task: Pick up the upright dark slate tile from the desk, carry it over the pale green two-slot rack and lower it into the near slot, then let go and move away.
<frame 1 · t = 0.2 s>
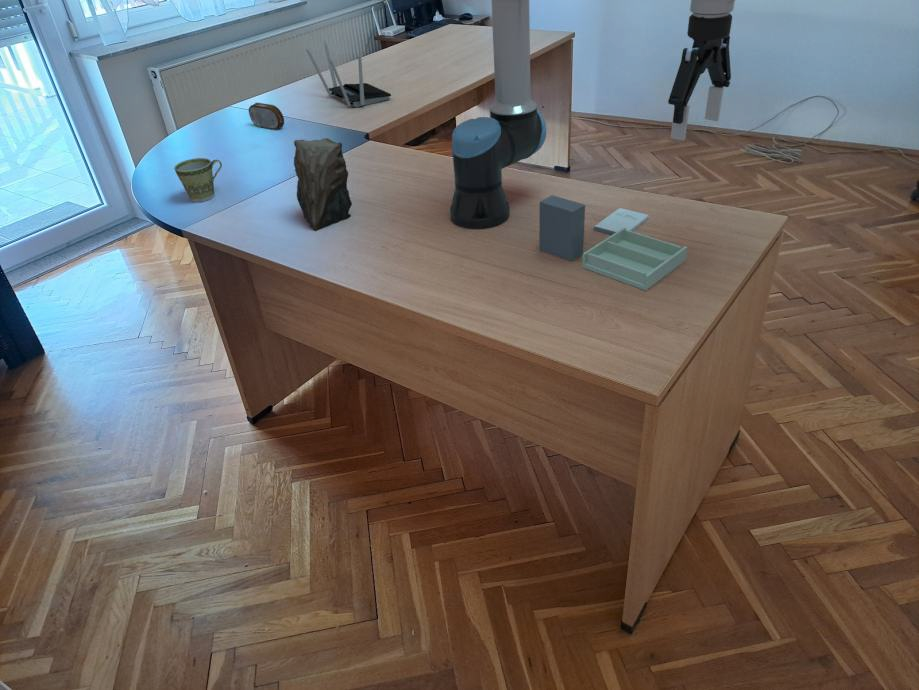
hand: (695, 129, 137), 28 cm above the table, tool pointing down, fingers open, 13 cm apart
tin: (268, 128, 247), on the table
wireless router: (353, 100, 268), on the table
ceramic cup: (207, 196, 198), on the table
tile: (560, 252, 157), on the table
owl: (323, 220, 180), on the table
rack: (633, 264, 150), on the table
external hard drive: (621, 226, 167), on the table
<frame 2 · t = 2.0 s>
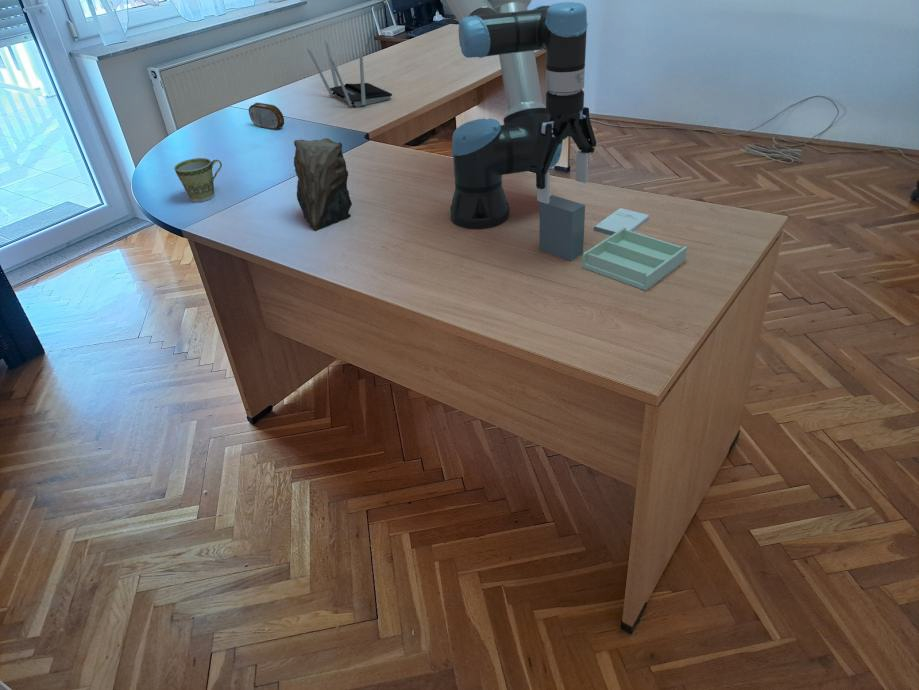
hand: (562, 191, 148), 15 cm above the table, tool pointing down, fingers open, 13 cm apart
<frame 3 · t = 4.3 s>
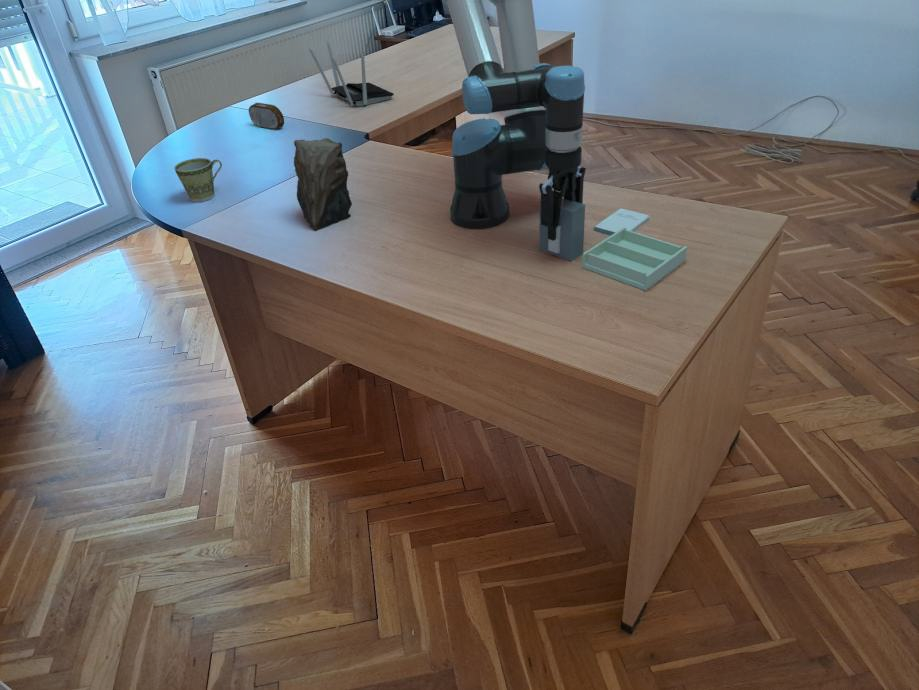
hand: (561, 246, 156), 1 cm above the table, tool pointing down, fingers closed on tile, 4 cm apart
tile: (561, 251, 157), on the table, touching gripper
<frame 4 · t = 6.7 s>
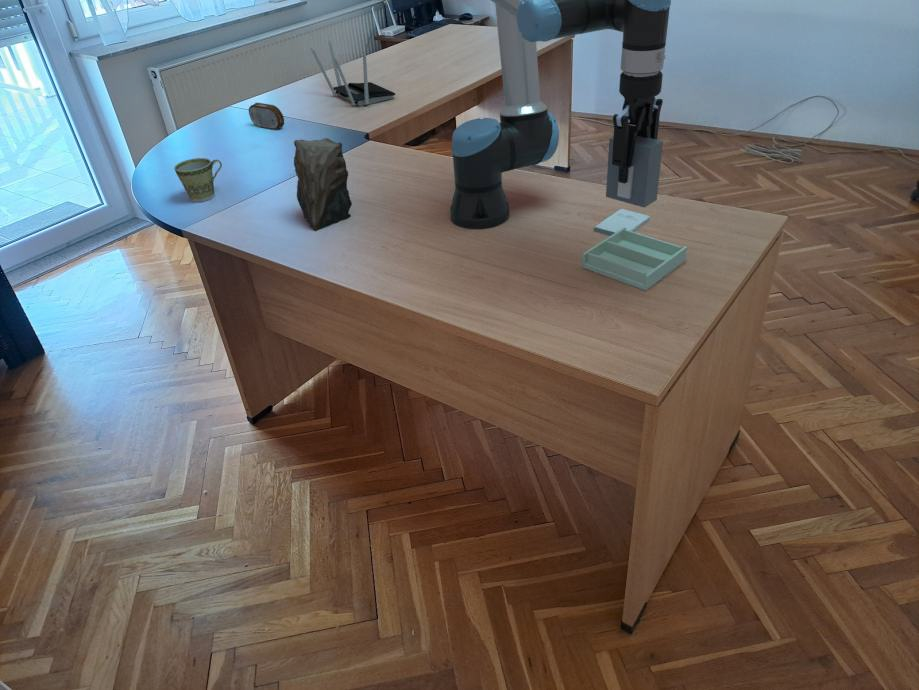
hand: (631, 192, 138), 18 cm above the table, tool pointing down, fingers closed on tile, 4 cm apart
tile: (631, 198, 138), point 17 cm above the table, touching gripper
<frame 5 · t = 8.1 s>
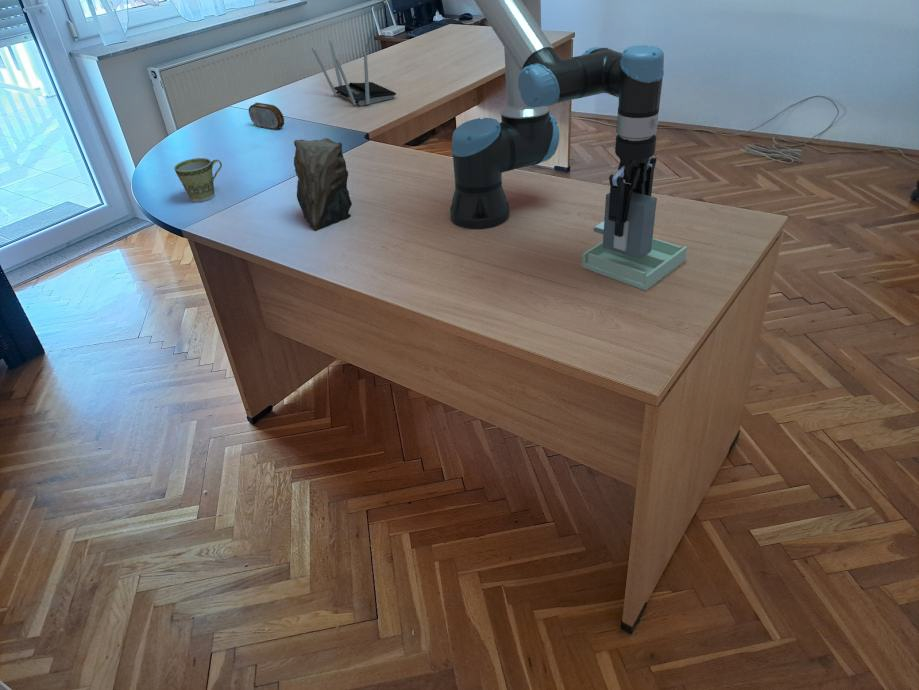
hand: (626, 243, 144), 6 cm above the table, tool pointing down, fingers closed on tile, 4 cm apart
tile: (626, 249, 145), point 5 cm above the table, touching gripper
when the fingers open (4 cm above the table, at t = 9.2 s): tile drops 2 cm, resting on rack.
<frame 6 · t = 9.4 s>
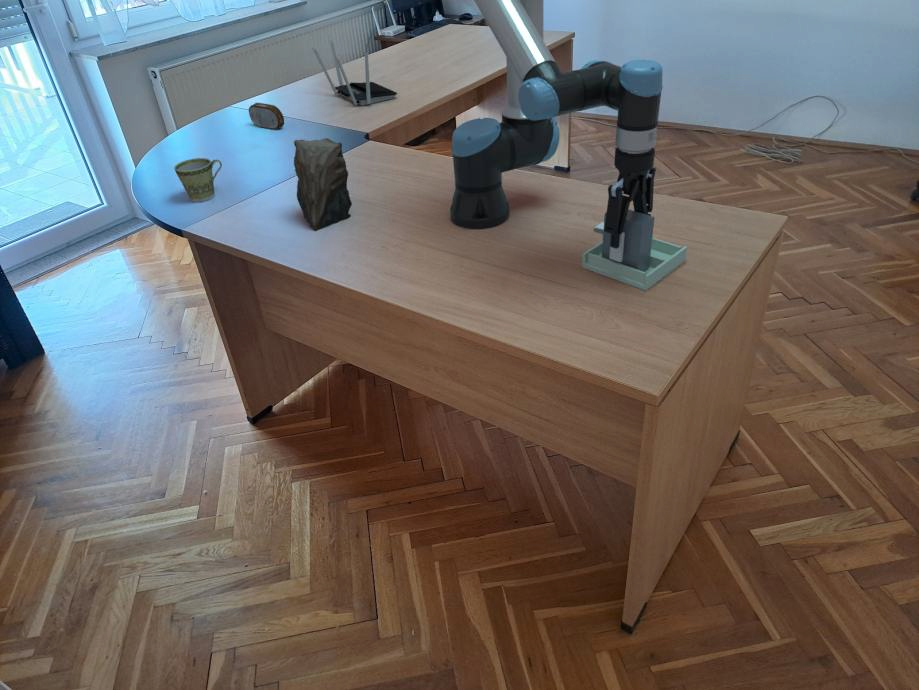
hand: (626, 252, 146), 4 cm above the table, tool pointing down, fingers open, 7 cm apart
tile: (624, 266, 148), point 1 cm above the table, touching rack
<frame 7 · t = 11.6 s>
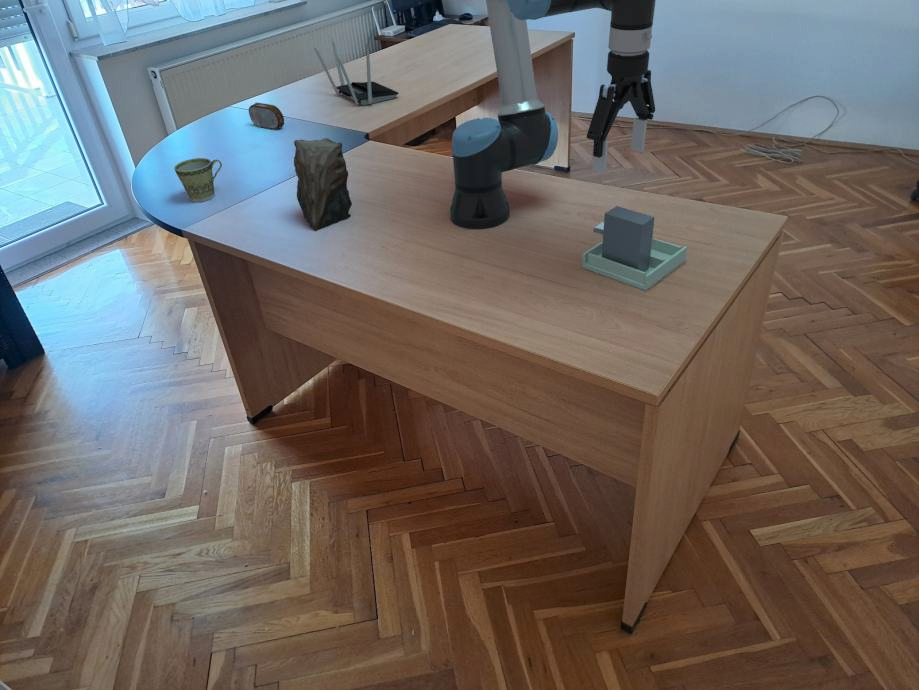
hand: (618, 160, 139), 23 cm above the table, tool pointing down, fingers open, 13 cm apart
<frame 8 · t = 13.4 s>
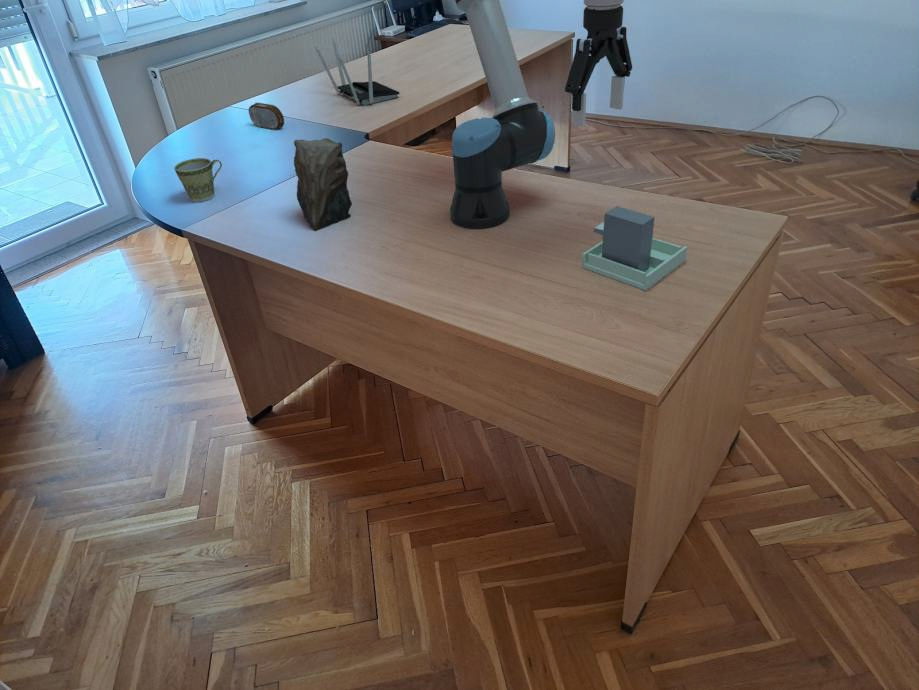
hand: (597, 116, 144), 29 cm above the table, tool pointing down, fingers open, 13 cm apart
at the end: tile 0.1 cm from the target spot on the rack, point 1.0 cm above the rack's base; tile tilted 0°; the gripper is holding nothing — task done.
